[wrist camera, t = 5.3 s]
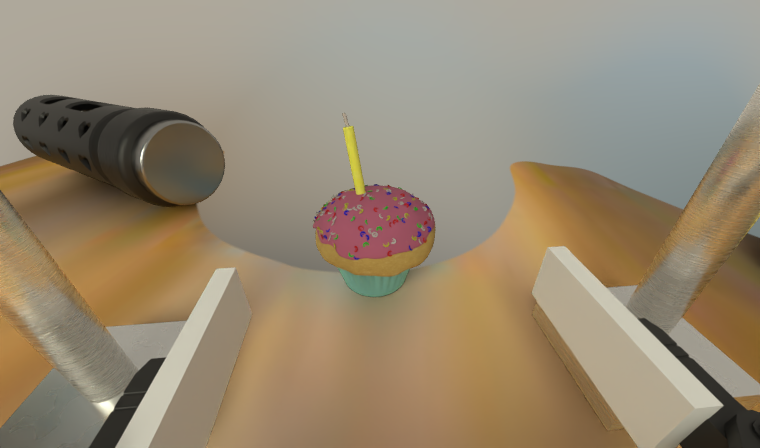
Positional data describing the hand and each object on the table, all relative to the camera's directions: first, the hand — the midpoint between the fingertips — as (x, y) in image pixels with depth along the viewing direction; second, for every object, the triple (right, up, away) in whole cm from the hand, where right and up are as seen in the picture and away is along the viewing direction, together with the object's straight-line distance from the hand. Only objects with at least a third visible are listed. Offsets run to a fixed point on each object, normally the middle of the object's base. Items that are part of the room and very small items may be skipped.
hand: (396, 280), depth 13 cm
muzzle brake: (-32, +7, +25) cm, 41 cm away
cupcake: (-1, -2, +11) cm, 11 cm away
